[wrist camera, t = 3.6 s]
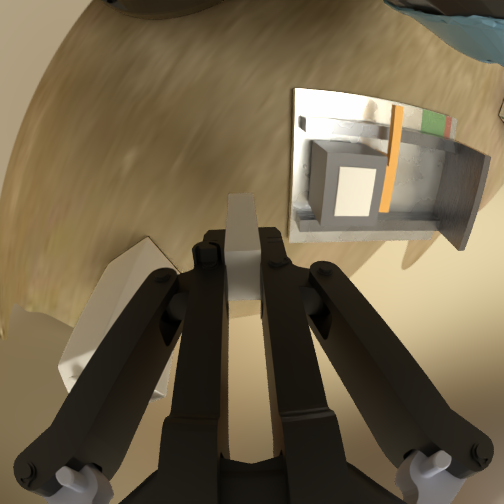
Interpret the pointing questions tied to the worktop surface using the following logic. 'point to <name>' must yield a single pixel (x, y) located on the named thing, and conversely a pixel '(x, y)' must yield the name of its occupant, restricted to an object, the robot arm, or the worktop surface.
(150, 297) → the robot arm
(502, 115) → the syrup box
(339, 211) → the grey block
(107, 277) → the milk carton
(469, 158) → the gauge bed
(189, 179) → the worktop surface
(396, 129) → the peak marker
